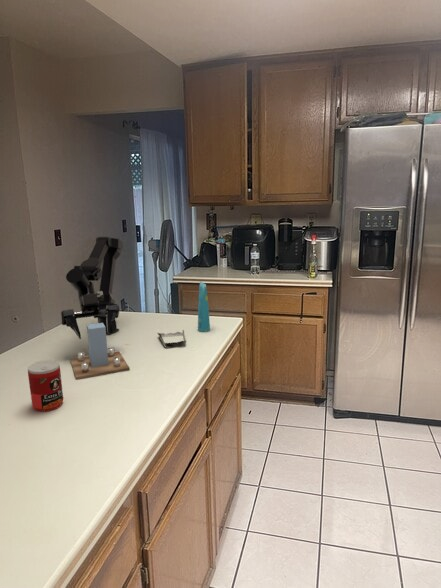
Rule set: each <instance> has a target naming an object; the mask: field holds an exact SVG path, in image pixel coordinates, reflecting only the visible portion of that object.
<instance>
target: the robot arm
mask: <svg viewBox="0 0 441 588" xmlns="http://www.w3.org/2000/svg"><path fill="white" fill-rule="evenodd" d="M122 249H123V241H122V240H121V239H120V238H119V237H111V236H97V237H96V239H95V244H94V246H93V249H92V250H91V252H90V254H89V256H88V258H87V259H85V260H83V261H82V262H81V264H80V265H74V266H73V268H72V269H70V270H69V271H68V272H67V273H66V275H65V279H66V281H67V282H68V283H69V284H70V286H71V287H72V288H73V289H74V290H76V292H77V296H78V297H77V298H78V301H79V308H80V311H78V312H75V311H74V309H73V308H71V309H70V308H69V309H64V310H63V309H62V310H61V312H60V321H61V325H62V326H66V327H67V328H68V327H70V329H71V330H72V331H73V332H74V333H75V335H76V336H77V337H78V339H79V340H81V339H82V335H81V331H80V328H79V325H78V322H77V319H83V318H90V317H93V318H94V319H97V323H103V324H104V325H105V327H106V336H107V335H108V336H109V335H111V334H113V333H115V332H117V331H119V328H118V327H117V320H116V319H117V318H119V315H120V306H119V305H118V304H117V303H116V301H115V299H114V296H113V294H112V293H113V287H114V285H113V284H114V276H115V269H116V260H117V259H118V258H119V257H120V256H121V255H122V254H121V253H122ZM101 265H102V267H101ZM99 280H100V285H99V291H97V292H96V291H95V285H94V283H93V282H95V281H96V282H98V281H99Z"/></svg>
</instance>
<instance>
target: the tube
mask: <svg viewBox="0 0 441 588" xmlns="http://www.w3.org/2000/svg"><path fill="white" fill-rule="evenodd" d="M207 289H208V288H207V284H205V283H204V282H202V281H201V280H200V281H199V288H198V303H197V304H198V306H197V331H198V332H201V333H202V332H209V331H210V330H211V327H210V325H211V324H210V307H209V297H208V292H207V291H208V290H207Z"/></svg>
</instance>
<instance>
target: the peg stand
mask: <svg viewBox="0 0 441 588" xmlns="http://www.w3.org/2000/svg"><path fill="white" fill-rule="evenodd" d="M107 353H108V365H103V366H97V367H92V366H91V363H90V356H89V355H88V356H87V355H86V356H85V352H80V351H79V352H78V353H77V357H74V358H70V364H71V367H72V371H73V374H74V377H75V380H81V379H82V380H83V379H88V378H93V377H94V378H95V377H98V376H99V377H100V376H105V375H110V374H116V373H122V372H127V371H130V366H129V364H128V363H127V361H126V360H125V358H124V357H123V355H122V354H121V352H120V351H119V350H117V351H115V348H114V347H109V348H108V347H107Z"/></svg>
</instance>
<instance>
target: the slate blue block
mask: <svg viewBox="0 0 441 588" xmlns="http://www.w3.org/2000/svg"><path fill="white" fill-rule="evenodd" d="M86 333H87V343H88V356H90V363H91V366H92V367H97V366H103V365H108V345H107V343H108V342H107V334H106V327H105V325H104V324H103V323H98V322H97V323H91V324H90V323H89V324H86Z"/></svg>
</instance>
